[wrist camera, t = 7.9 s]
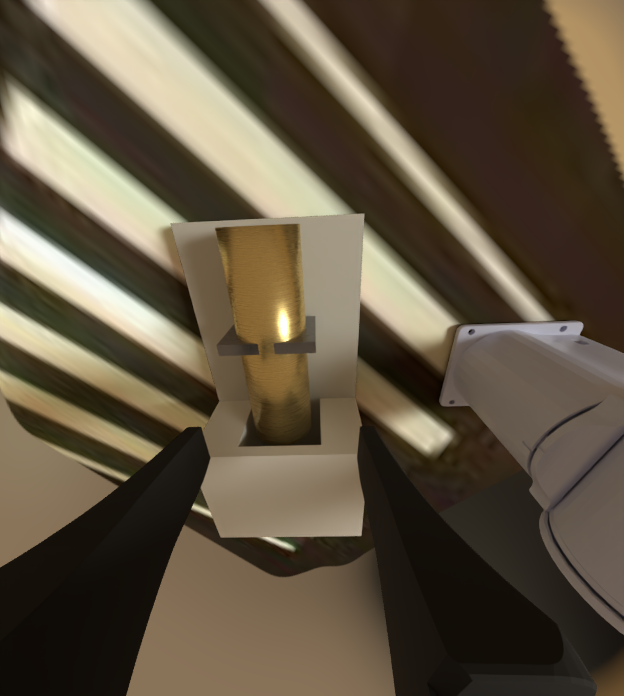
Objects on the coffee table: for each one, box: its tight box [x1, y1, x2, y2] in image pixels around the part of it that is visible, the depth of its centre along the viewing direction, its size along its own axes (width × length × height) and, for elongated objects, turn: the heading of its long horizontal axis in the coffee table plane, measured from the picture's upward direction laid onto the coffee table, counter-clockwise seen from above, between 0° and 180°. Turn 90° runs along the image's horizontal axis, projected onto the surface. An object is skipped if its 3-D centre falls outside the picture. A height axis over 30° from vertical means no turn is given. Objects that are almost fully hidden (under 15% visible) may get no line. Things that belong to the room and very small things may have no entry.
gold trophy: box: [215, 224, 316, 446], centre depth 16 cm, size 6×14×4 cm, turn 2°
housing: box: [170, 214, 364, 537], centre depth 18 cm, size 12×24×7 cm, turn 3°
